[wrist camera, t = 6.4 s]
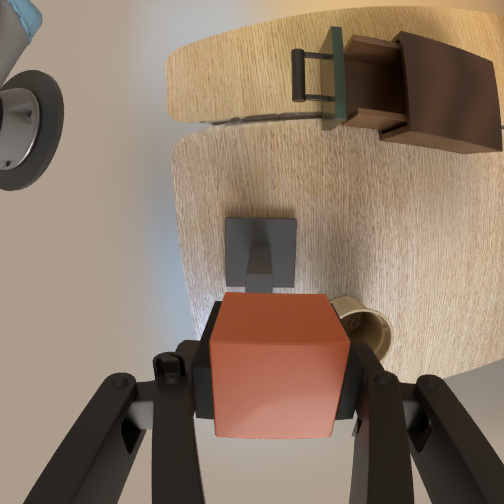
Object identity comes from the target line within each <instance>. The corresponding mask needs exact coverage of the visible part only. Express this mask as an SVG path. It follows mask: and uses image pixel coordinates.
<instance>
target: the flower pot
mask: <svg viewBox="0 0 504 504" xmlns="http://www.w3.org/2000/svg"><path fill="white" fill-rule="evenodd" d="M330 303H332V304H333V306H334V308H335V310H336V311H337V313H338V315H339V317H340V319H341V321H342V323H343V325H344V327H345V328H346V330H347V332H348V334H349V336H350V338H351V340H352V342H365V343H366V344H368V345H369V346H371V348H372V350H373V351H374V353H375V355H376V356H377V358H378V360H379V361H380V363H381V362H382V361H383V360H384V359H385V358H386V356H387V355H388V353H389V351H390V349H391V347H392V343H393V338H394V334H393V328H392V325H391V323H390V321H389V320H388V319H387V318H386V317H385V316H384V315H383V314H382V313H380V312H378V311H376V310H373V309H368V308H367V307H365V306H364V305H363V304H361V303H360V302H359V301H358V300H357V299H355V298H353V297H350V296H342V297H339V298H336V299H333V300H331V301H330ZM343 317H344V318H343ZM356 319H358V322H357V323H356V324H355V325H354V326H353V325H352V324H353V323H354V321H355V320H356Z"/></svg>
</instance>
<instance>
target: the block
mask: <svg viewBox="0 0 504 504" xmlns="http://www.w3.org/2000/svg"><path fill="white" fill-rule="evenodd" d="M209 347H210V365H211V375H212V391H213V406H214V424H215V425H214V426H215V435H216V436H217V437H229V438H249V439H305V438H324V437H330V436H331V434H332V430H333V425H334V421H335V417H336V413H337V408H338V404H339V399H340V395H341V390H342V385H343V380H344V375H345V370H346V365H347V360H348V354H349V349H350V340H349V338H348V336H347V334H346V332H345V330H344V329H343V327H342V325H341V323H340V321H339V319H338V317H337V315H336V313H335V311H334V309H333V307H332V305H331V303H330V302H329V300H328V298H327V296H326V294H277V293H238V292H226V293H225V295H224V298H223V301H222V304H221V307H220V310H219V313H218V316H217V319H216V322H215V325H214V328H213V331H212V334H211V337H210V341H209Z"/></svg>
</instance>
